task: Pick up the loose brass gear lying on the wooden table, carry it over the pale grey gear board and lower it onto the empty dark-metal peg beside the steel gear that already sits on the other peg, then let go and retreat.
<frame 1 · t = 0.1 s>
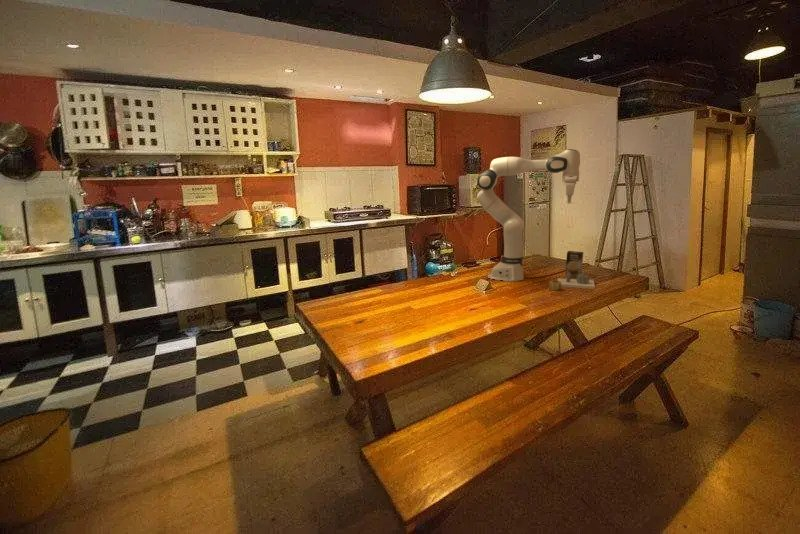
hand: (569, 202, 230), 48 cm above the table, fingers open, 8 cm apart
coffee box: (573, 277, 251), on the table
brass gear: (554, 289, 227), on the table
gear board: (575, 284, 235), on the table
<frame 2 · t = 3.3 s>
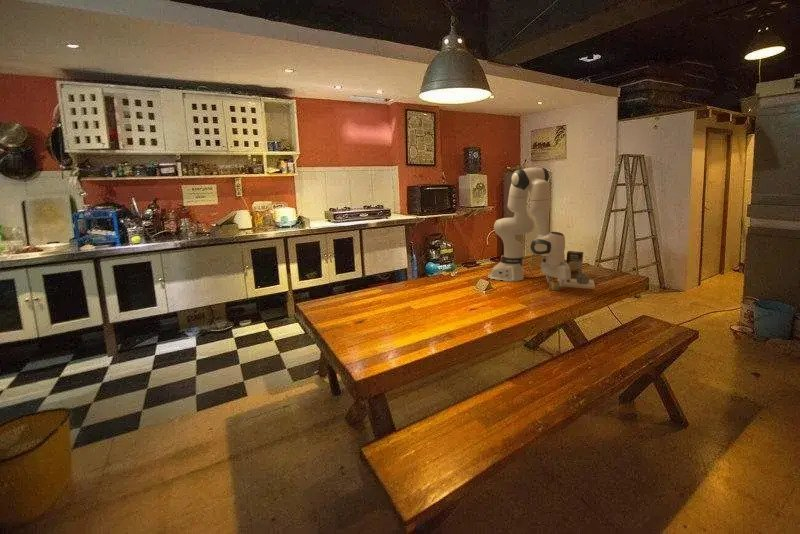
hand: (555, 284, 225), 3 cm above the table, fingers open, 8 cm apart
nothing on the table moved.
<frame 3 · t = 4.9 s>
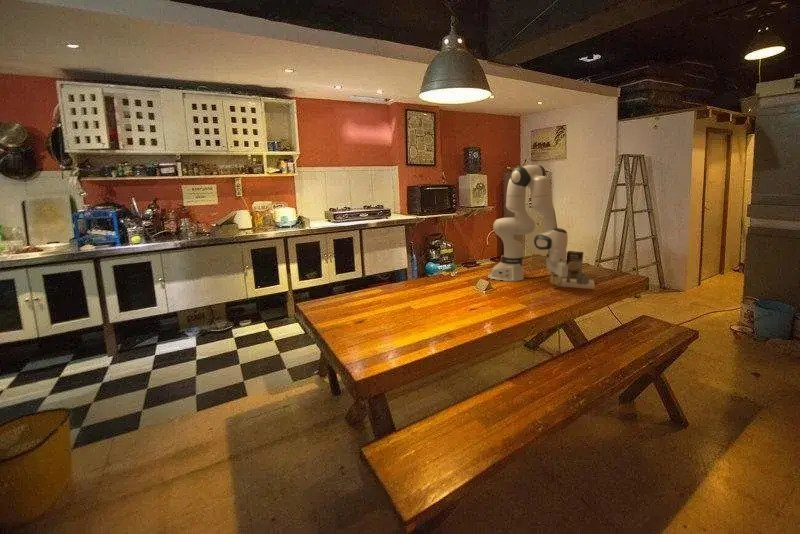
hand: (555, 280, 228), 5 cm above the table, fingers closed on brass gear, 6 cm apart
brass gear: (556, 283, 228), point 3 cm above the table, touching gripper
everything else where it was.
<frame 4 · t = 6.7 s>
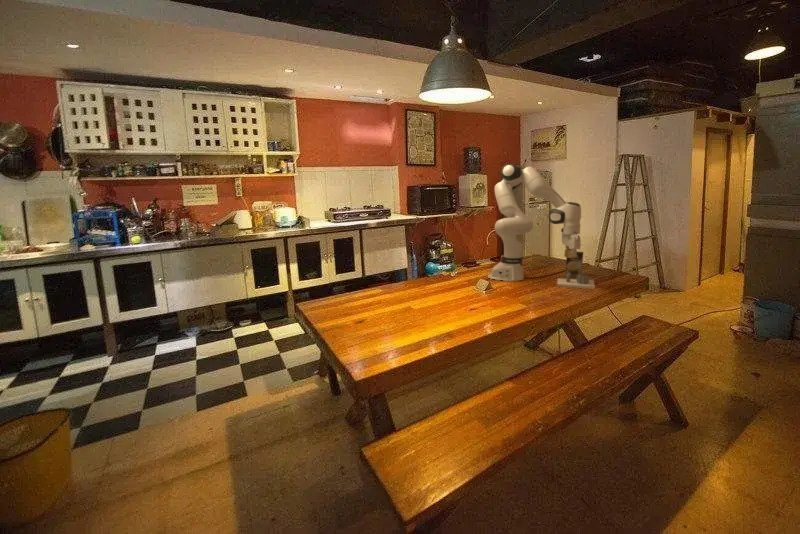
hand: (570, 254, 231), 18 cm above the table, fingers closed on brass gear, 6 cm apart
brass gear: (570, 256, 232), point 17 cm above the table, touching gripper
everything else where it was.
when the fingers open (6 cm above the table, at t = 9.3 s): brass gear drops 2 cm, resting on gear board.
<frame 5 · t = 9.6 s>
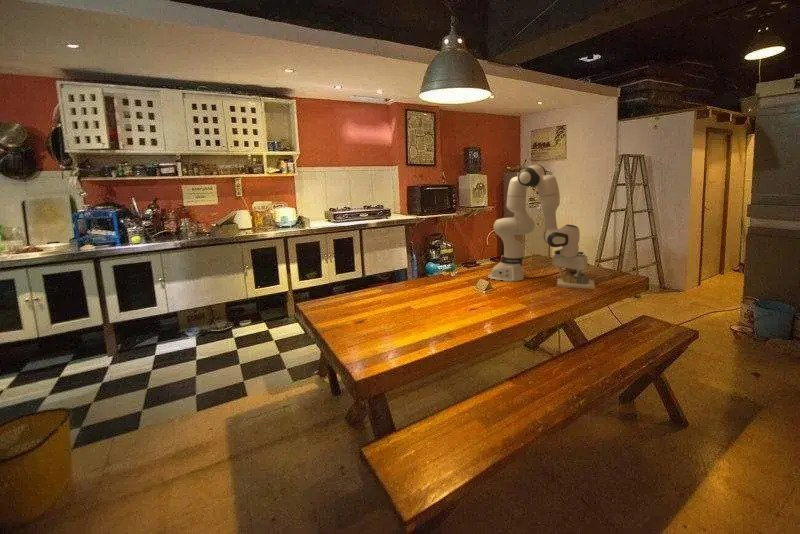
hand: (568, 275, 234), 6 cm above the table, fingers open, 8 cm apart
brass gear: (568, 281, 235), point 1 cm above the table, touching gear board
everything else where it was.
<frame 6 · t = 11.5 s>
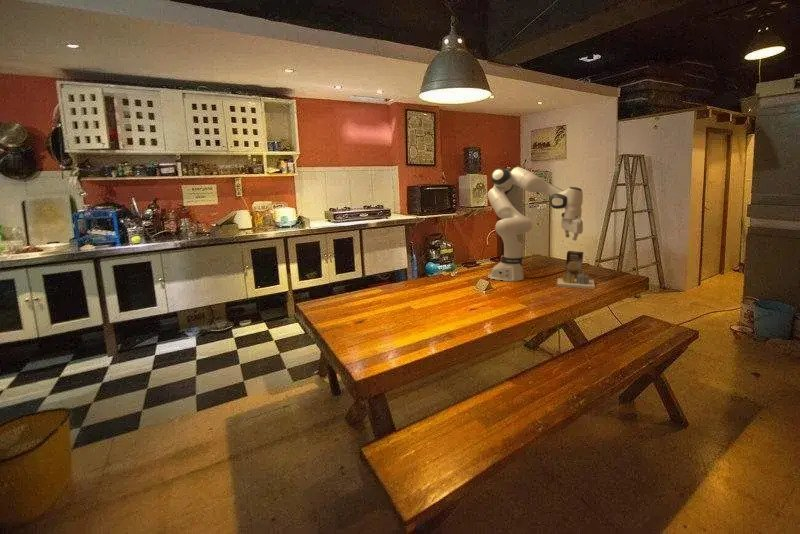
hand: (570, 238, 234), 27 cm above the table, fingers open, 8 cm apart
nothing on the table moved.
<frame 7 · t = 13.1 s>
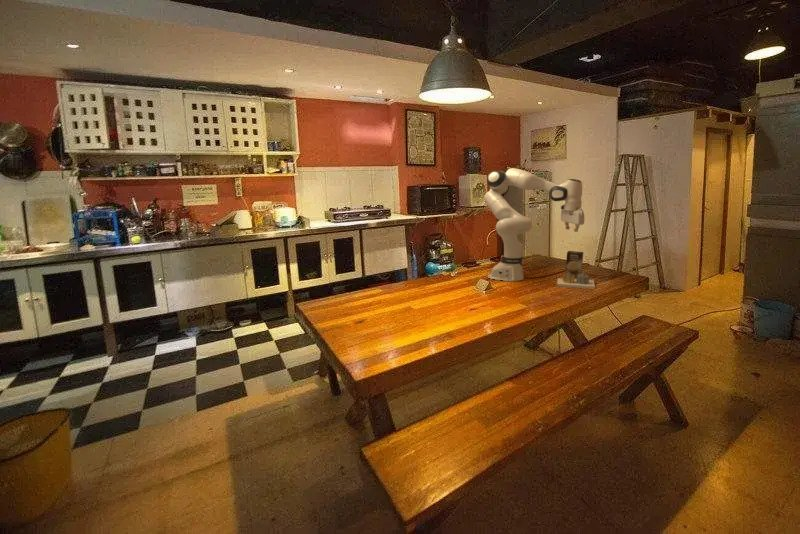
hand: (571, 230, 236), 31 cm above the table, fingers open, 8 cm apart
nothing on the table moved.
at the end: brass gear 0.2 cm from the target spot on the gear board, point 1.5 cm above the gear board's base; the gripper is holding nothing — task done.
